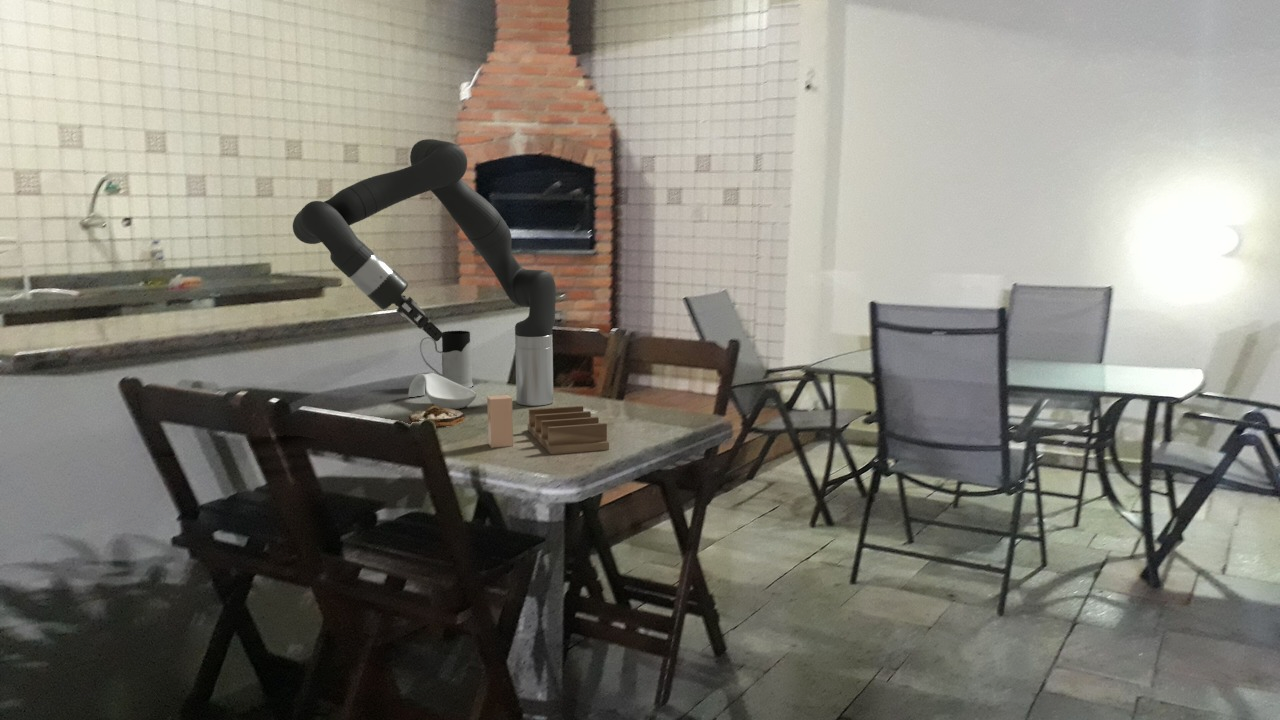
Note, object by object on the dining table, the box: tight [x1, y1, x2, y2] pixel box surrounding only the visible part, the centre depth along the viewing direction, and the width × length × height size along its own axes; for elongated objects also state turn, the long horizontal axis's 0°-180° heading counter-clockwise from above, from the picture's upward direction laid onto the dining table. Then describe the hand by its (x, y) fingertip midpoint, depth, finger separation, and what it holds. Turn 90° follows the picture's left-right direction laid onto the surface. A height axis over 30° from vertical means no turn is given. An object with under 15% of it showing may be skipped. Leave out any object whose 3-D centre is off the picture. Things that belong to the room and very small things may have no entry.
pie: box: [408, 405, 466, 429], centre depth 215 cm, size 15×15×4 cm
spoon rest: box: [407, 372, 477, 410], centre depth 234 cm, size 24×12×7 cm, turn 43°
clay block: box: [486, 394, 514, 449], centre depth 193 cm, size 4×4×10 cm
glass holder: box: [419, 330, 474, 388], centre depth 256 cm, size 9×14×15 cm, turn 91°
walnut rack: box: [527, 405, 610, 455], centre depth 198 cm, size 22×12×5 cm, turn 19°
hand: (437, 335), depth 195 cm, fingers open, 8 cm apart
